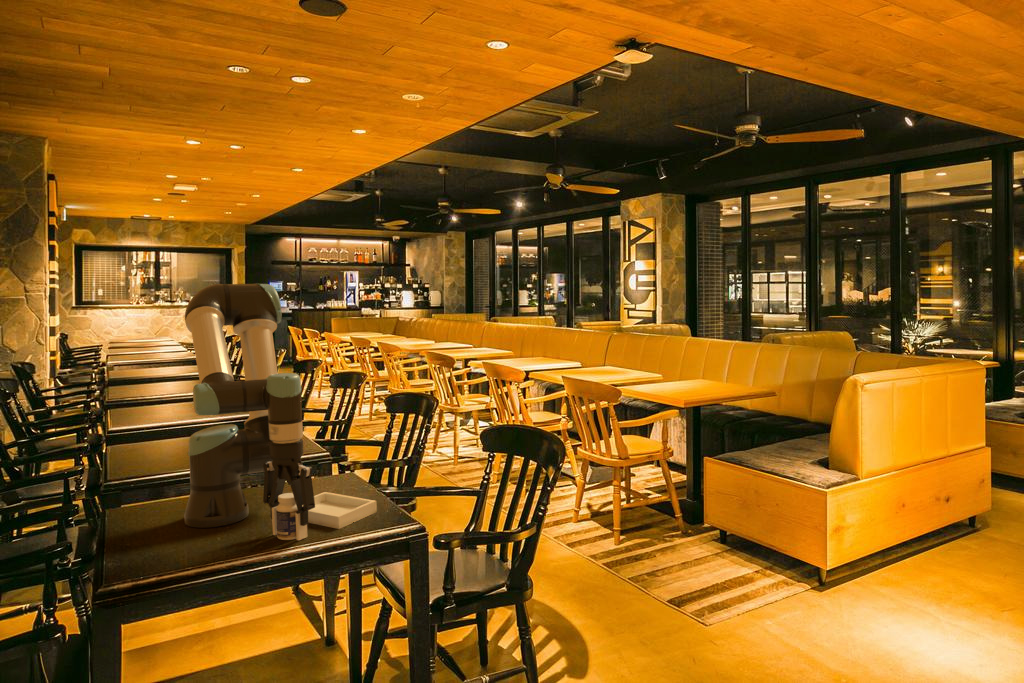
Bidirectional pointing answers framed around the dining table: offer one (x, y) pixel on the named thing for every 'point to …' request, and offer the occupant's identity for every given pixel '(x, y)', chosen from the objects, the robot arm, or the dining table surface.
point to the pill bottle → (286, 517)
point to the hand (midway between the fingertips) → (290, 535)
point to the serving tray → (339, 510)
